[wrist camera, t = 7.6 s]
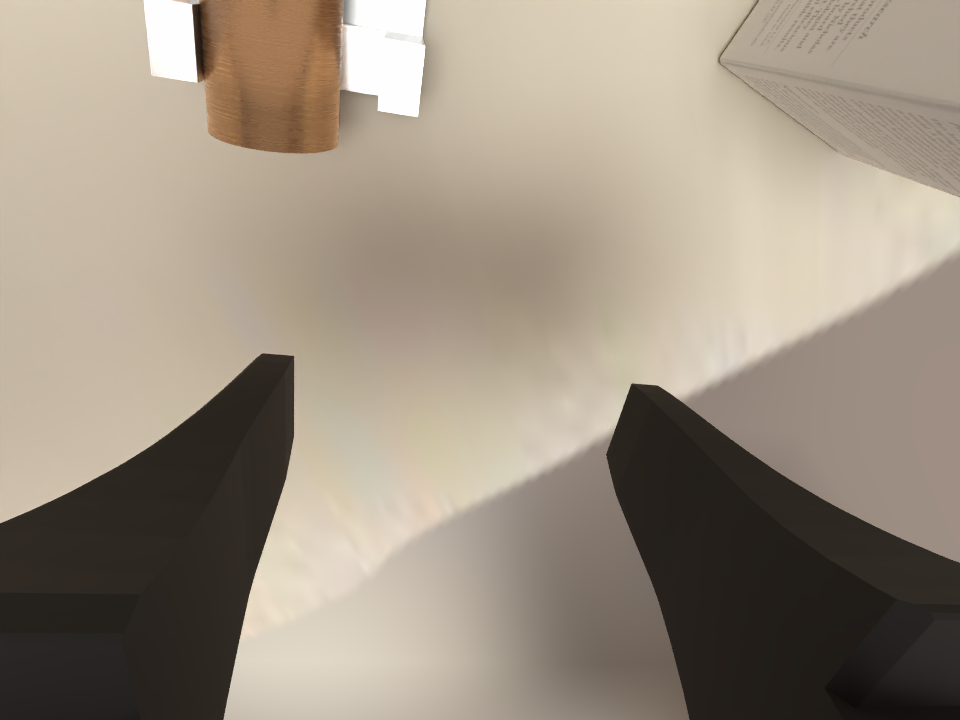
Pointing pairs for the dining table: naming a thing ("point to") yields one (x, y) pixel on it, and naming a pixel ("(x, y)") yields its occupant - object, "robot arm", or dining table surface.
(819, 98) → the skincare box
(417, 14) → the cradle
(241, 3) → the tube
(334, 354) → the dining table surface
